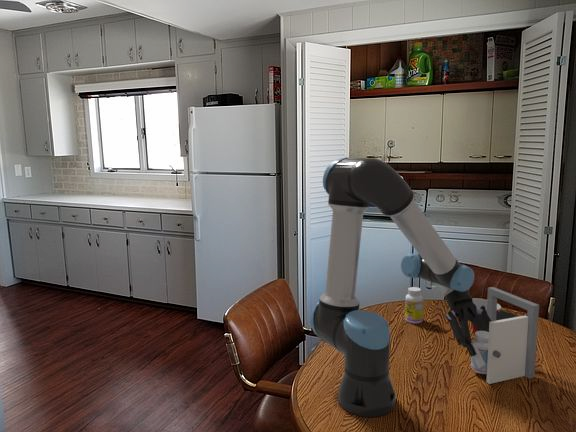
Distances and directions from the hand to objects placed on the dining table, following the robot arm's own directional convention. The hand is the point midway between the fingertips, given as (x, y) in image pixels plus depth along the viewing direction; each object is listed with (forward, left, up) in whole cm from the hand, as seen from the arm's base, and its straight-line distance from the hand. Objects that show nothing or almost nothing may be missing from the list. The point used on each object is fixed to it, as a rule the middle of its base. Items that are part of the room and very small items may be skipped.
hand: (491, 364), depth 128 cm
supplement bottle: (+5, +45, -5) cm, 46 cm away
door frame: (+12, +5, -5) cm, 14 cm away
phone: (+36, +35, -5) cm, 50 cm away
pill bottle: (0, +4, -4) cm, 5 cm away
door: (+4, -2, -4) cm, 6 cm away
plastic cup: (+20, +25, -5) cm, 32 cm away
